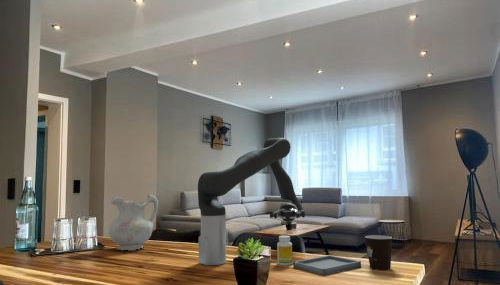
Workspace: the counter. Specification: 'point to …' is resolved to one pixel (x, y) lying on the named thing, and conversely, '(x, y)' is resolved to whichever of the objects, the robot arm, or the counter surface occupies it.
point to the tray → (326, 264)
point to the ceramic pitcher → (132, 223)
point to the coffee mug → (379, 251)
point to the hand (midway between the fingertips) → (286, 215)
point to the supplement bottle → (284, 251)
